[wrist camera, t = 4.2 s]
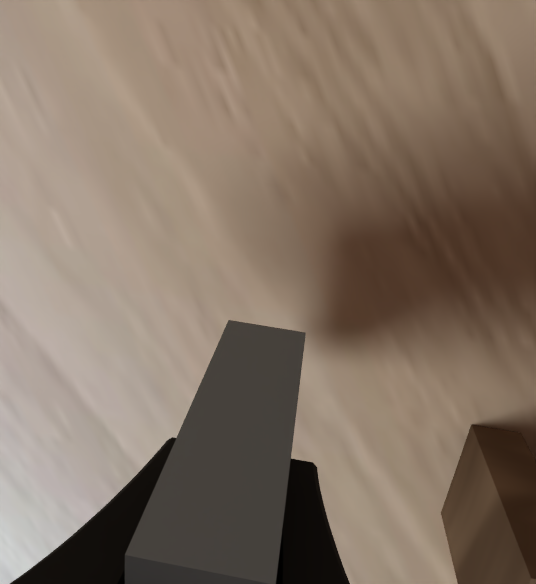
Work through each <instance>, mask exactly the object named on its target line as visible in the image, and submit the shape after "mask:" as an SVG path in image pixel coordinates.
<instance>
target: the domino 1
mask: <svg viewBox="0 0 536 584" xmlns="http://www.w3.org/2000/svg"><path fill="white" fill-rule="evenodd" d="M305 334H306V333H304V332H298V331H292V330H286V329H280V328H274V327H268V326H262V325H256V324H250V323H243V322H237V321H231V320H229V321H228V323H227V325H226V327H225V330H224V332H223V334H222V337H221V339H220V341H219V343H218V346H217V348H216V350H215V352H214V355H213V357H212V359H211V361H210V364H209V366H208V368H207V370H206V373H205V375H204V377H203V379H202V382H201V384H200V386H199V388H198V391H197V393H196V395H195V398H194V400H193V402H192V404H191V407H190V409H189V411H188V413H187V416H186V418H185V420H184V422H183V425H182V427H181V429H180V431H179V434H178V436H177V438H176V440H175V443H174V445H173V447H172V449H171V452H170V454H169V456H168V459H167V461H166V463H165V465H164V468H163V470H162V472H161V474H160V477H159V479H158V481H157V483H156V486H155V488H154V490H153V492H152V495H151V497H150V499H149V501H148V504H147V506H146V508H145V510H144V513H143V515H142V517H141V520H140V522H139V524H138V526H137V529H136V531H135V533H134V535H133V538H132V540H131V542H130V544H129V547H128V549H127V551H126V553H125V584H276V578H277V569H278V561H279V553H280V544H281V536H282V527H283V519H284V511H285V502H286V494H287V485H288V477H289V468H290V460H291V452H292V443H293V435H294V426H295V418H296V410H297V401H298V393H299V384H300V376H301V367H302V359H303V351H304V342H305Z"/></svg>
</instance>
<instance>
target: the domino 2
mask: <svg viewBox="0 0 536 584" xmlns="http://www.w3.org/2000/svg"><path fill="white" fill-rule="evenodd" d="M441 515H442V519H443V523H444V528H445V532H446V536H447V540H448V544H449V548H450V553H451V557H452V561H453V565H454V569H455V573H456V578H457V582H458V584H536V461H535V459H534V458H533V456H532V454H531V452H530V450H529V448H528V446H527V444H526V442H525V440H524V438H523V436H522V434H521V433H518V432H512V431H506V430H500V429H494V428H488V427H482V426H476V425H471V427H470V430H469V433H468V436H467V439H466V442H465V445H464V448H463V451H462V454H461V456H460V459H459V462H458V465H457V468H456V471H455V474H454V477H453V480H452V483H451V485H450V488H449V491H448V494H447V497H446V500H445V503H444V506H443V509H442V512H441Z"/></svg>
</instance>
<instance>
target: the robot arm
mask: <svg viewBox="0 0 536 584" xmlns="http://www.w3.org/2000/svg"><path fill="white" fill-rule="evenodd" d="M175 440H176V438H171V439H169V440H167V441H166V443H165V444H164V445H163V446H162V447H161V449H160V450H159V451H158V452H157V453H156V454H155V455H154V457H153V458H152V459H151V460H150V461H149V462H148V463H147V464H146V465H145V466H144V467H143V469H142V470H141V471H140V472H139V473H138V474H137V475H136V476H135V477H134V478H133V479H132V480H131V481H130V482H129V483H128V484H127V485H126V486H125V487H124V488H123V489H122V490H121V491H120V492H119V493H118V494H117V495H116V496H115V497H114V498H113V499H112V500H111V501H110V502H109V503H108V504H107V505H106V506H105V507H104V508H103V509H101V510H100V511H99V512H98V513H97V514H96V515H95V516H94V517H92V518H91V519H90V520H89V521H88V522H87V523H86V524H85V525H84V526H82V527H81V528H80V529H79V530H78V531H77V532H76V533H75V534H73V535H72V536H71V537H70V538H69V539H67V540H66V541H65V542H64V543H63V544H61V545H60V546H59V547H58V548H57V549H55V550H54V551H53V552H52V553H50V554H49V555H48V556H47V557H45V558H44V559H43V560H41V561H40V562H39V563H37V564H36V565H35V566H34V567H32V568H31V569H30V570H28V571H27V572H26V573H24V574H23V575H22V576H20V577H19V578H17V579H16V580H14V581H13V582H12V583H10V584H125V553H126V551H127V549H128V547H129V544H130V542H131V540H132V538H133V535H134V533H135V531H136V529H137V526H138V524H139V522H140V520H141V517H142V515H143V513H144V510H145V508H146V506H147V504H148V501H149V499H150V497H151V495H152V492H153V490H154V488H155V486H156V483H157V481H158V479H159V477H160V474H161V472H162V470H163V468H164V465H165V463H166V461H167V459H168V456H169V454H170V452H171V449H172V447H173V445H174V443H175ZM276 584H350V583H349V581H348V578H347V576H346V573H345V570H344V568H343V565H342V562H341V559H340V557H339V554H338V551H337V548H336V544H335V541H334V538H333V535H332V532H331V529H330V526H329V522H328V519H327V515H326V512H325V508H324V504H323V500H322V495H321V491H320V486H319V480H318V473H317V467H316V466H315V465H314V463H312V462H307V461H301V460H295V459H291V460H290V468H289V477H288V485H287V494H286V502H285V511H284V519H283V527H282V536H281V544H280V553H279V561H278V569H277V578H276Z"/></svg>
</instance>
